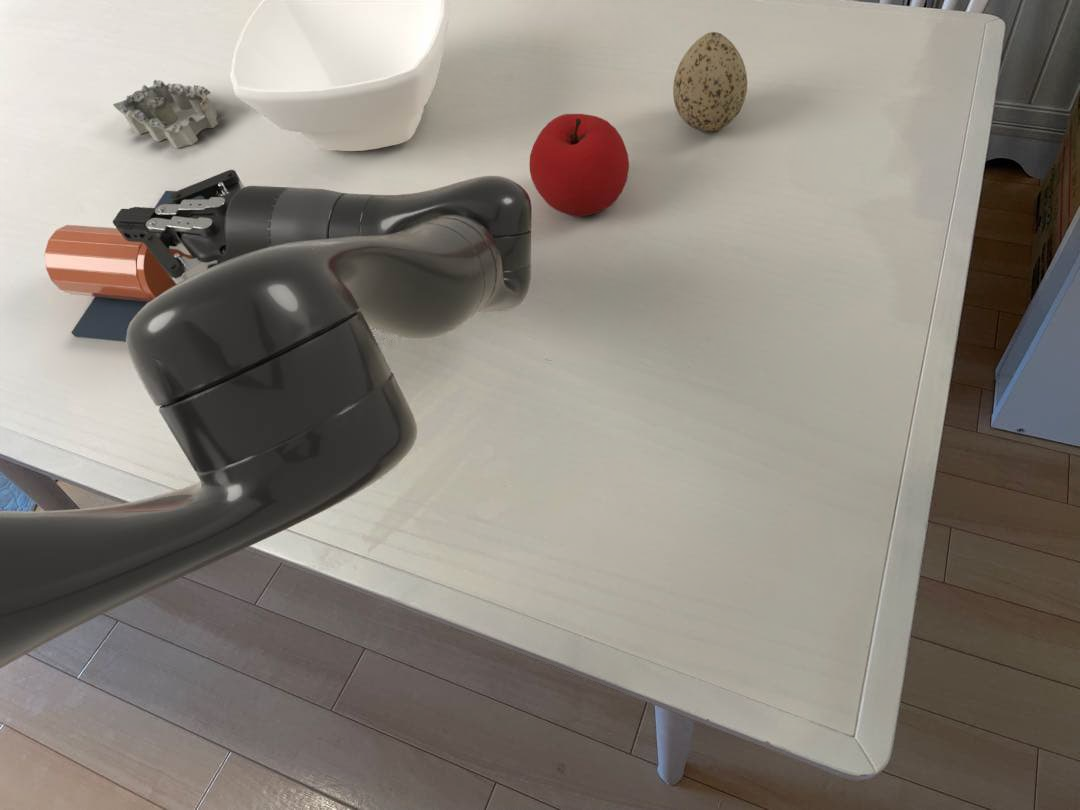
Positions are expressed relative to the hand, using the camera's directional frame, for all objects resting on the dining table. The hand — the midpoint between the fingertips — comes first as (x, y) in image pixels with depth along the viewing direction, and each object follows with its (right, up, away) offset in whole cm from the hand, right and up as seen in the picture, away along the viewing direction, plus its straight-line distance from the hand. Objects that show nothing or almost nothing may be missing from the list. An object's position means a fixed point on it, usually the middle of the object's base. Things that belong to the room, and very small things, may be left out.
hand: (121, 223), depth 70 cm
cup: (+2, -3, +4) cm, 6 cm away
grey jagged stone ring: (-6, +17, +25) cm, 31 cm away
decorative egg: (+54, +13, +12) cm, 57 cm away
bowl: (+18, +16, +20) cm, 31 cm away
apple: (+41, +4, +8) cm, 42 cm away
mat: (+3, -2, +10) cm, 10 cm away
